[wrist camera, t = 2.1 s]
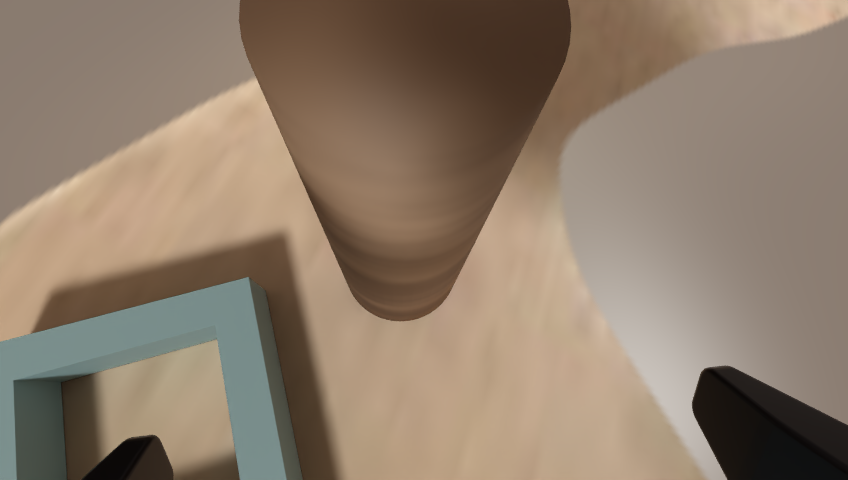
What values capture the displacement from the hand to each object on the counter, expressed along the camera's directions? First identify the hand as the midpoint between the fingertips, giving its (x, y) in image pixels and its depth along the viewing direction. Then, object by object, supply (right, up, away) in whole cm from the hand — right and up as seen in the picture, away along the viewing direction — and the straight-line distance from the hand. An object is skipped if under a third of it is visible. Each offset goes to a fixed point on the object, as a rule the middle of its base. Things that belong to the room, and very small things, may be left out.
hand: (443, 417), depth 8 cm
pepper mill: (-1, +2, +14) cm, 14 cm away
